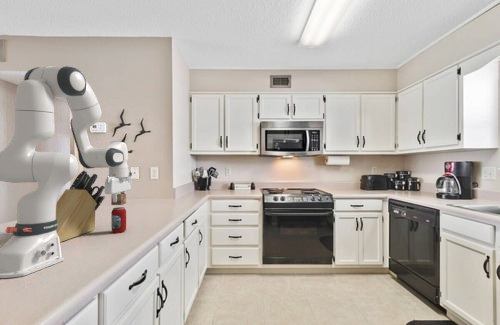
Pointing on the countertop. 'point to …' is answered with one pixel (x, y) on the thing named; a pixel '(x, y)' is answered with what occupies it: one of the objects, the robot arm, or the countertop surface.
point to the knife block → (78, 207)
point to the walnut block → (119, 199)
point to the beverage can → (118, 219)
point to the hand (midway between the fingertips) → (118, 201)
